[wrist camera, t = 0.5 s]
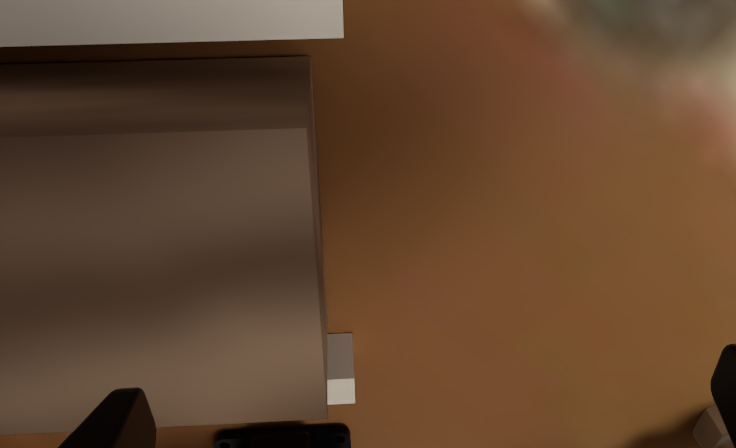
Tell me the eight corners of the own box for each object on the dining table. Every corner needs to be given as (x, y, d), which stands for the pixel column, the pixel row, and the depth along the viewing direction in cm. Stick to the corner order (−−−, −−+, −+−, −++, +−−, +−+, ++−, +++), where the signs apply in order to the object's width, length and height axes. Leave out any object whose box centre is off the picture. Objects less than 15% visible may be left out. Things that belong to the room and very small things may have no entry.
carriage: (327, 317, 25) (327, 418, 21) (29, 330, 25) (-30, 437, 20) (310, 56, 19) (306, 128, 15) (-90, 67, 18) (-211, 144, 14)
